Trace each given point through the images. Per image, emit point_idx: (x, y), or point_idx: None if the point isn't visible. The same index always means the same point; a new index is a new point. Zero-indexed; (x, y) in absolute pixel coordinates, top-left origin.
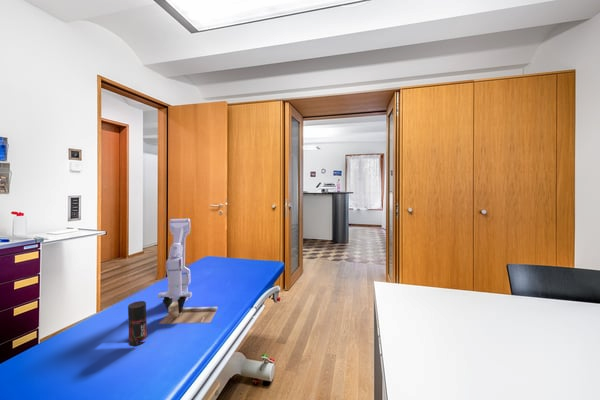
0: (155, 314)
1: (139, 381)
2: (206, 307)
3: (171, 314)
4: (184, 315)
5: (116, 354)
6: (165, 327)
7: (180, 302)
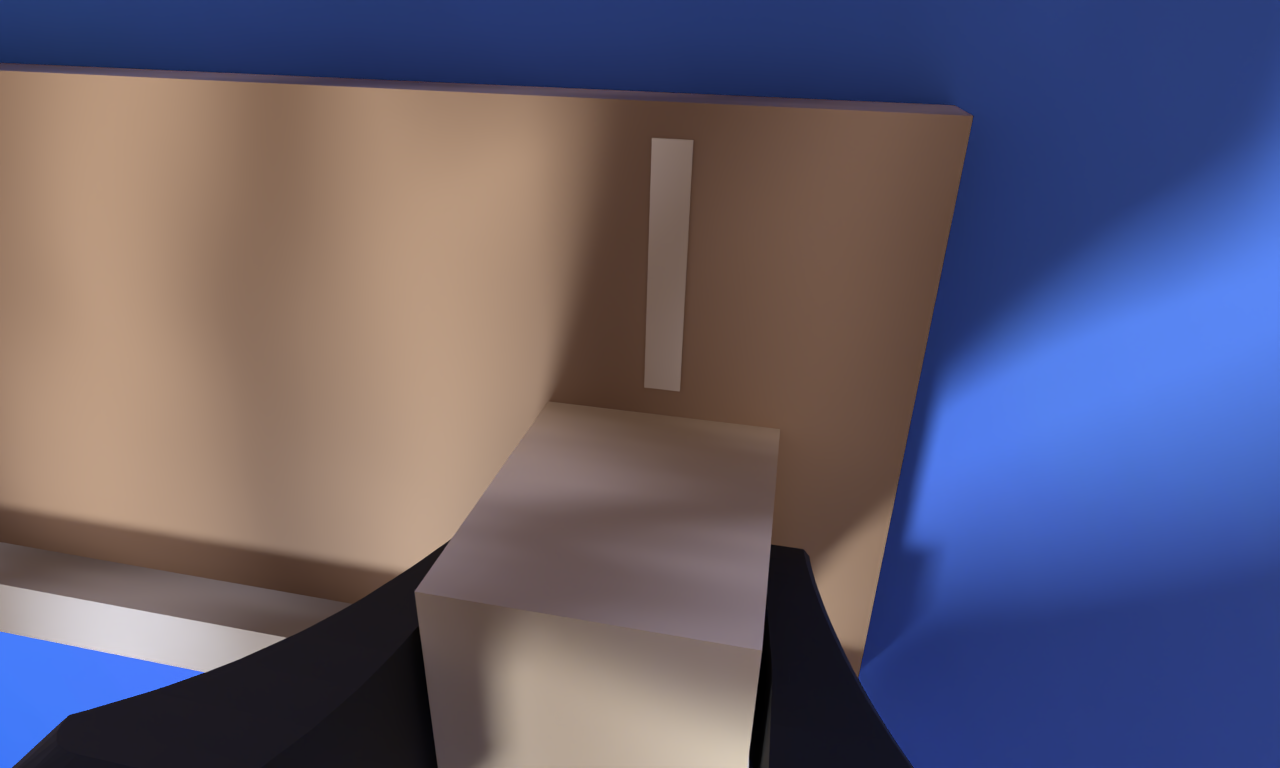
0: (1202, 718)
1: None
2: (69, 629)
3: (690, 464)
4: (429, 463)
5: None
6: (754, 74)
7: (203, 711)
